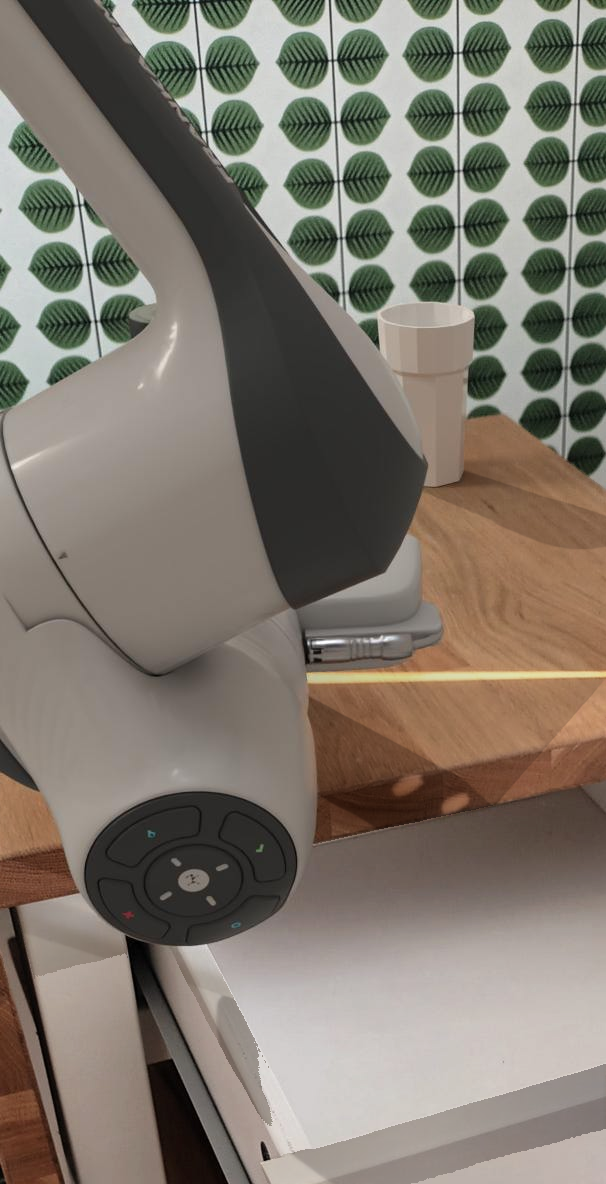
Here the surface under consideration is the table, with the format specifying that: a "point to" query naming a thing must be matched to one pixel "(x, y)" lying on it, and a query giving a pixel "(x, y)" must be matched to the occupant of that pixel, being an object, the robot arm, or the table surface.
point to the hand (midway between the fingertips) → (198, 533)
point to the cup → (432, 376)
